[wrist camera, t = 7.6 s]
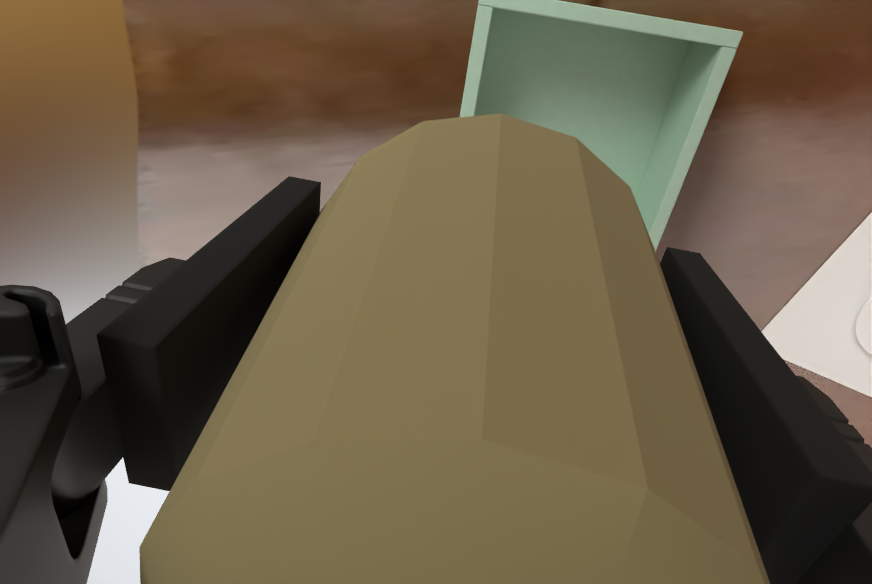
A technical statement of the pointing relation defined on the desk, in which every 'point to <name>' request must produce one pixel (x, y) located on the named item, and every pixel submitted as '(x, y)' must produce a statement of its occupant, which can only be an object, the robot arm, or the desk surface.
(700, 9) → the desk surface
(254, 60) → the desk surface
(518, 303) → the squeeze bottle
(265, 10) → the desk surface
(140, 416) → the robot arm
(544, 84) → the bin
